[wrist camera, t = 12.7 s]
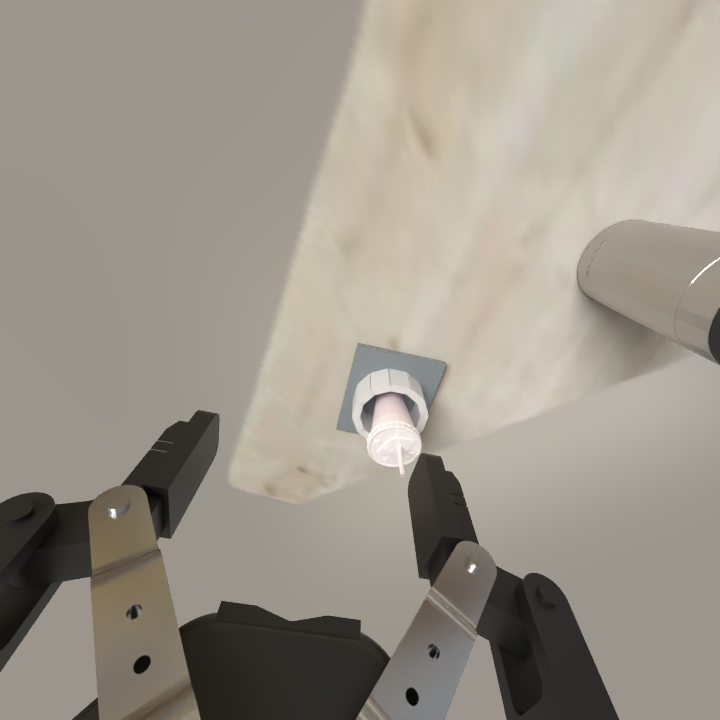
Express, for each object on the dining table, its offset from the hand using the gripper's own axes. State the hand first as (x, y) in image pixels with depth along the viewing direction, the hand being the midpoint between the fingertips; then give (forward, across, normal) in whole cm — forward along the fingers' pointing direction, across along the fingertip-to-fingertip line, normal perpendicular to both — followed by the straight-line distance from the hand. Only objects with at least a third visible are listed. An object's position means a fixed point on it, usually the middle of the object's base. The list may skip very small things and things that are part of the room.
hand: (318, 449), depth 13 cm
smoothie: (+29, -9, +16) cm, 35 cm away
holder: (+30, -9, +16) cm, 35 cm away
